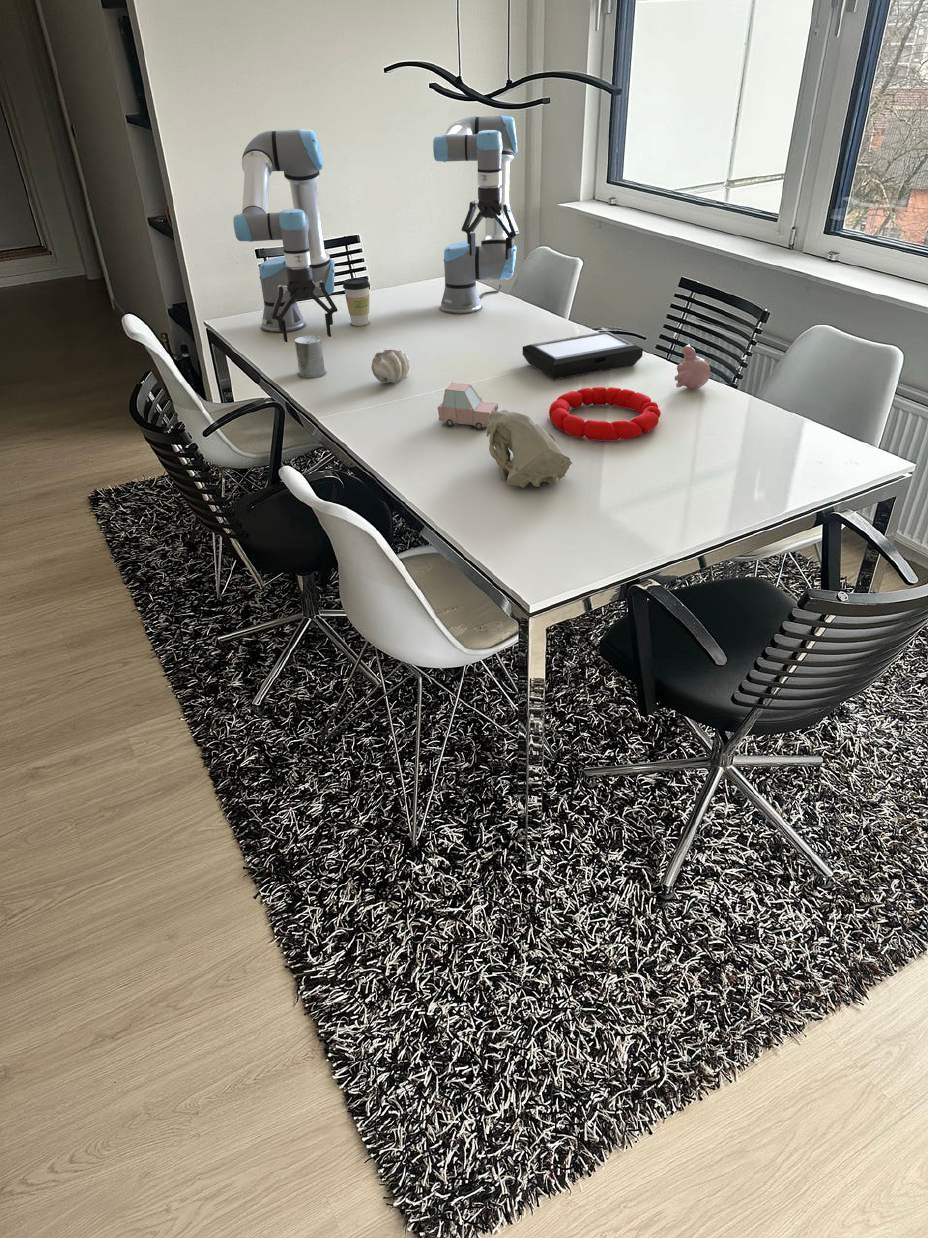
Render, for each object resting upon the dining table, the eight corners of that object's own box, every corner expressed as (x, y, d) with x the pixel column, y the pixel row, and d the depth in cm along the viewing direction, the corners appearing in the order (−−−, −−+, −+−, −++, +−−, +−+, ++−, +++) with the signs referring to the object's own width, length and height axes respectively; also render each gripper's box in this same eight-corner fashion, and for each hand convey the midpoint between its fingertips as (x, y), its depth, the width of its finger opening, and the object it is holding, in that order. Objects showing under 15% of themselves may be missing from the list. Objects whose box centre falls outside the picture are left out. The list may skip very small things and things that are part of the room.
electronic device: (553, 362, 266) (522, 343, 282) (552, 382, 270) (522, 363, 285) (643, 345, 277) (609, 328, 292) (641, 365, 280) (607, 347, 295)
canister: (294, 374, 283) (289, 339, 277) (314, 367, 288) (310, 333, 282) (309, 379, 279) (305, 345, 272) (330, 373, 283) (326, 338, 277)
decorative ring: (589, 435, 224) (684, 402, 234) (527, 398, 247) (617, 369, 256) (589, 461, 229) (683, 427, 238) (529, 422, 251) (617, 393, 260)
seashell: (364, 381, 275) (361, 349, 270) (407, 372, 281) (405, 341, 275) (377, 391, 268) (374, 358, 262) (421, 382, 273) (420, 349, 268)
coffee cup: (372, 326, 323) (368, 283, 314) (345, 327, 323) (340, 284, 315) (374, 318, 331) (371, 276, 322) (348, 319, 331) (344, 277, 323)
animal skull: (496, 517, 219) (521, 479, 201) (463, 429, 225) (484, 384, 207) (557, 503, 225) (586, 465, 206) (523, 417, 231) (549, 373, 212)
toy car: (488, 432, 240) (488, 396, 234) (436, 426, 244) (434, 390, 239) (499, 419, 247) (499, 384, 241) (448, 413, 252) (447, 379, 246)
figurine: (665, 387, 264) (669, 347, 257) (693, 380, 268) (698, 340, 261) (686, 396, 257) (690, 355, 250) (714, 388, 262) (720, 348, 255)
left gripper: (258, 273, 259) (269, 346, 271) (342, 264, 265) (349, 336, 277) (254, 268, 265) (265, 339, 276) (337, 259, 271) (344, 330, 283)
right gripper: (449, 185, 285) (452, 255, 297) (519, 190, 274) (518, 262, 286) (461, 181, 290) (463, 250, 302) (530, 186, 279) (529, 257, 291)
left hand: (307, 338), depth 277 cm, fingers open, 13 cm apart
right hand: (490, 256), depth 294 cm, fingers open, 13 cm apart
